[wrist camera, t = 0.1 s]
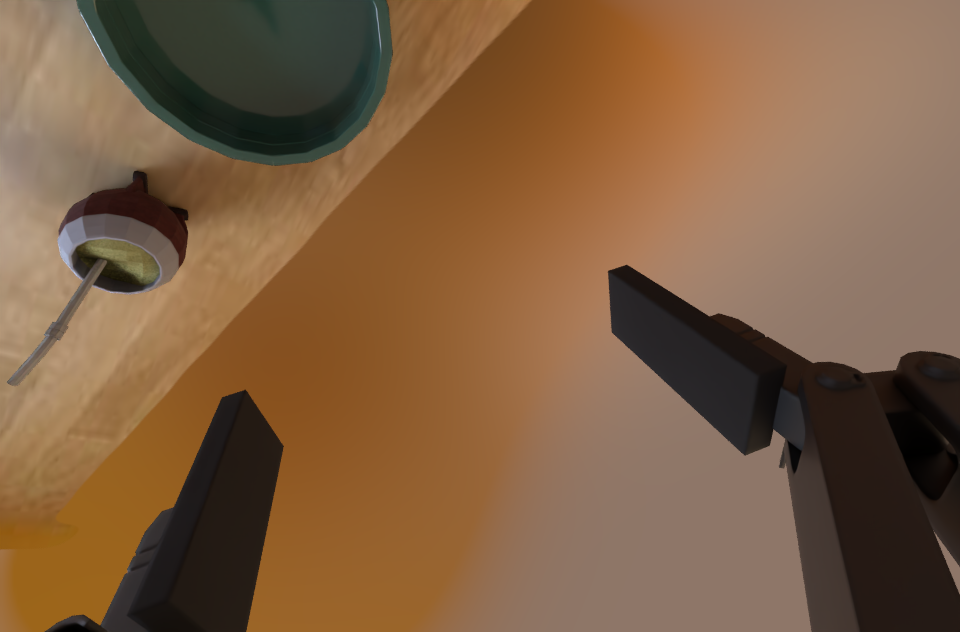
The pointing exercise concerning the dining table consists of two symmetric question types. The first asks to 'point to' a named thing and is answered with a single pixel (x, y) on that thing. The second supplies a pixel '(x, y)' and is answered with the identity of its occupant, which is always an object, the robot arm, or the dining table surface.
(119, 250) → the mate gourd
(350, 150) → the dining table surface
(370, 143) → the dining table surface
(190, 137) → the green round tray
